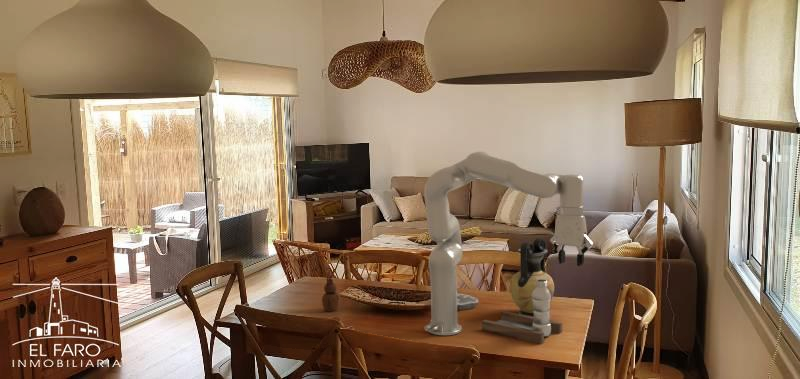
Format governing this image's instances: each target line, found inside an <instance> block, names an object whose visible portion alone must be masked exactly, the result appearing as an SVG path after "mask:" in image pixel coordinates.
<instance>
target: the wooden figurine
mask: <svg viewBox="0 0 800 379" xmlns="http://www.w3.org/2000/svg"><path fill="white" fill-rule="evenodd" d="M323 291H324V292H325V293H324V294H323V295H322V298H321V304H322V307H323V309H324V311H325V312H329V313H330V312H335V311H337V310H338V307H339V304H340V297H339V296H340V295H339V294H338V293H337V292H336V291H337V285H336V284H335V283H334V281H333V279H332V278H331V276H330V275H326V283H325V285H324V288H323Z"/></svg>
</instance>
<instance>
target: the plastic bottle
mask: <svg viewBox="0 0 800 379" xmlns="http://www.w3.org/2000/svg"><path fill="white" fill-rule="evenodd" d="M536 286H537V287H536V288H535V290H534V291H533V293H532V300H533V308H534V318H533V325H532V330H534V331H539V332H543V333H544V338H545V337H548V336H550V335H551V333H552V332H551V324H550V320H551V318H550V306H551V302H550V300H551V301H552V299H551V294H550V292H549V290H548V289H547V288H546V286H547V280H542V279H540V280H536Z"/></svg>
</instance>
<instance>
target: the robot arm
mask: <svg viewBox="0 0 800 379" xmlns="http://www.w3.org/2000/svg"><path fill="white" fill-rule="evenodd" d="M477 179H480V180H484V181H488V182H491V183H495V184H498V185H501V186H505V187H507V188H509V189H513V190H514V191H515V190H516V191H517V192H521V193H524V194H527V195H530V196H534V197H537V198H542V199H549V198H552V197H554V196H555V195H559V206H557V207H556V208H555V209H556V211H557V212H559V214H557V216H556V219H555V229H554V234H553V236H552V237H551V238H550V239H549V241H550V243H551V244H552V245H553V247H554V248H555V249H556V251H557V252H558V256H557V259H558V264H564V263H565V262H566V251H565V248H566V246H568V247H569V246H570V247H576V249H577V251H578V252H577V253H578V254H576V266H577V267H581V266H583V264H584V263H585V253H587V251H589V249H591V248H592V247H593V246H594V243H593V241H592V240H591V239H590V238H589V237H588V229H587V220H586V217H585V215H584V179H583V176H582V175H580V174H564V175H563V174H555V173H546V174H540V173H537V172H533V171H529V170H527V169H525V168H522V167H520V166H518V164H516V163H514V162H513V161H509V160H506V159H501V158H498V157H494V156H491V155H490V154H488V153H487V152H484V151H476V152H472V153H470V154H468V155H467V156H466V158H464V159H463V160H461V161H459V162H457V163H455V164H453V165H451V166H447V167H443V168H441V169H439V170H437V171H435V172H434V173H433V174H432V175H431V176H429V178H428V179H427V181H426V182H425V185H424V190H423V191H424V193H423V194H424V202H425V213H426V223H427V224H426V225H427V232H428V236H429V237H430V239H431V240H432V241H434V242H436V245H437V246H435V247H434V248H433V250H432V251H431V252H430V254H429V257H428V268H429V276H430V279H429V280H430V310H431V312H430V313H431V315H430V317H431V318H430V320H429V323H428V324H427V325H424V327H423V329H424V331H426V332H428V333H430V334H432V335H436V336H452V335H456V334H457V335H458V334H459V333H461V332H462V326H461V325H460V324H459V323H458V310H457V294H458V287H457V286H458V283H457V282H458V281H457V279H458V278H457V271H456V266H457V265H458V264H459V263H460V262H461V261H462V258H463V243H462V237H461V235H462V234H461V228H460V223H459V220H458V219H457V217H456V216H455V215H453V214H452V213H450V211H451V210H450V202H449V199H448V194H449V192H451V191H454V190H458V189H459V188H461V187H464V186H465V185H467V184H469V183H471V182H473V181H474V180H475V181H476V180H477ZM584 245H585V246H584Z"/></svg>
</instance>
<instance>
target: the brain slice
mask: <svg viewBox="0 0 800 379" xmlns="http://www.w3.org/2000/svg"><path fill="white" fill-rule="evenodd" d="M479 302H480V301H479V299H478V297H476V296H472V295H470V294H469V295H468V294H464V293H457V311H465V310H472V309H475V308H476V307H477V306H478V304H479Z"/></svg>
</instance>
